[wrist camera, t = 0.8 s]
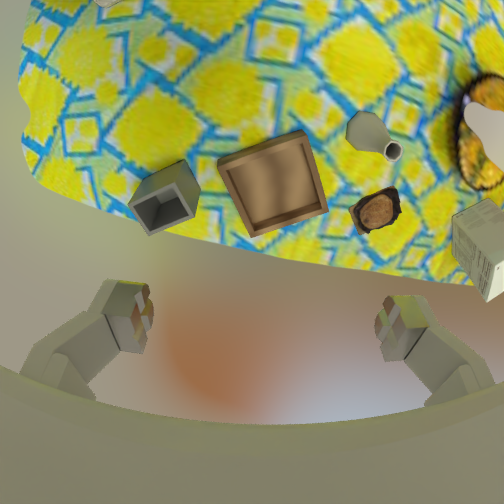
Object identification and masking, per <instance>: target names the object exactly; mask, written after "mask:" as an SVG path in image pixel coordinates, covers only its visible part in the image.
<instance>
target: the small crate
mask: <svg viewBox="0 0 504 504" xmlns="http://www.w3.org/2000/svg"><path fill="white" fill-rule="evenodd" d="M200 191H201V189H200V187H199V185H198V183H197V181H196V179H195V177H194V175H193V173H192V172H191V170H190V168H189V166H188V164H187V162H186V160H185V159H184V160H182V161H179V162H177V163H175V164H173V165H171V166H169V167H166V168H164V169H162V170H160V171H158V172H156V173H154V174H152V175H150V176H148V177H146V178H144V179H143V181H142V182H141V184H140V185H139V187H138V188H137V190H136V192H135V193H134V195H133V196H132V198H131V200H130V201H129V203H128V206H129V208H130V209H131V211H132V212H133V214H134V215H135V217H136V218H137V220H138V221H139V223H140V224H141V226H142V227H143V229H144V230H145V232H146V233H147V234H148V236H150V235H152V234H154V233H157V232H159V231H162V230H164V229H167V228H169V227H172V226H174V225H177V224H179V223H182V222H184V221H186V220H189V219H192V218H194V217H195V214H196V209H197V204H198V200H199V195H200Z"/></svg>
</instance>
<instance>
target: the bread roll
mask: <svg viewBox="0 0 504 504" xmlns="http://www.w3.org/2000/svg"><path fill="white" fill-rule="evenodd" d="M349 212H350V214H351V217H352V219H353V222H354V224H355V226H356V229H357V231H358V234H359V235H362V234H364V233H368V234H369V233H370V231H371V230H373V229H380V228H383V227H384V226H387V225H392V224H393V223H394V221H395V220H397V218H398V215H399V214H400V213H402V211H401V208H400V199H399V195H398V191H397V189H395V187H394V186H390V187H387V188H385V189H382V190H380V191H378V192H376V193H374V194H371V195H370V196H367V197H365V198H363V199H361V200H360V201H359V202H357V203H356V204H354V205H353V206H351V207H350V208H349Z"/></svg>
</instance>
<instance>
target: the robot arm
mask: <svg viewBox="0 0 504 504" xmlns="http://www.w3.org/2000/svg"><path fill="white" fill-rule="evenodd" d="M93 1H94V2H96V3H97V4H98V5H99V6H101V7H103V8H107V7H110V6H112V5H114V4H116V3H118V2H120V1H121V0H93ZM149 294H150V290H149V286H148V284H146V283H138V282H131V281H123V280H113V279H106V280H105V281H104V282H103V283H102V285H101V287H100V289H99V291H98V292H97V294H96V296H95V298H94V300H93V301H92V303H91V305H90V307H89V309H88V311H87V312H86V311H83V312H81V313H80V314H78V315H77V316H75V317H74V318H72V319H71V320H69V321H68V322H66V323H65V324H63V325H62V326H60V327H59V328H57V329H56V330H54V331H53V332H51V333H50V334H48V335H47V336H45V337H44V338H43V339H41V340H40V341H38V342H37V343H35V344H34V345H33V347H32V349H31V351H30V353H29V355H28V357H27V359H26V361H25V363H24V365H23V367H22V369H21V371H20V373H19V374H18V373H16V372H14V371H11V370H9V369H7V368H5V367H3V366H1V365H0V504H504V382H501V383H499V384H495V382H494V380H493V377H492V375H491V373H490V371H489V368H488V366H487V364H486V362H485V360H484V359H483V358H482V357H481V356H480V355H478V354H477V353H476V352H475V351H474V350H472V349H471V348H470V347H469V346H468V345H466V344H465V343H464V342H463V341H461V340H460V339H459V338H458V337H456V336H455V335H454V334H453V333H451V332H450V331H449V330H448V329H446V328H445V327H444V326H442V327H441V326H440V324H439V322H438V321H437V319H436V317H435V315H434V313H433V311H432V309H431V308H430V306H429V304H428V302H427V300H426V299H425V297H424V296H422V295H411V296H387V297H386V298H385V300H384V302H383V307H384V309H382V310H381V311H380V312H379V313H378V314H377V317H376V319H375V325H374V327H375V334H376V336H377V338H378V339H379V340H380V341H381V342H382V344H381V346H380V348H381V351H382V354H383V357H384V360H385V362H388V361H401V360H404V362H405V363H406V364H407V366H408V367H409V368H410V369H411V370H412V371H413V372H414V373H415V374H416V375H417V377H418V378H419V379H420V380H421V381H422V382H423V383H424V385H425V386H426V387H427V388H428V389H429V390H430V391H431V392H432V395H431V396H430V397H429V398H428V399H427V400H426V401H425V403H424V406H425V407H423V408H418V409H414V410H410V411H405V412H400V413H395V414H389V415H384V416H378V417H371V418H364V419H357V420H348V421H338V422H327V423H312V424H287V425H259V424H258V425H257V424H233V423H219V422H207V421H198V420H189V419H182V418H174V417H167V416H161V415H155V414H150V413H144V412H140V411H135V410H130V409H126V408H121V407H117V406H113V405H109V404H105V403H101V402H98V401H96V396H95V394H94V393H93V392H92V390H91V389H90V388H89V386H88V385H87V384H88V383H89V382H90V380H92V379H93V378H94V377H95V376H96V375H97V374H98V373H99V372H100V371H101V370H102V369H103V368H104V367H105V366H106V365H107V364H108V363H109V362H110V361H112V360H113V359H114V358H115V357H116V356H117V355H118V354H119V353H120V351H125V352H132V353H139V354H143V352H144V349H145V346H146V342H147V339H148V338H147V335H146V332H147V331H148V330H150V329H151V326H152V323H153V316H154V307H153V303H152V301H151V300H150V299H149V298H148V297H149Z"/></svg>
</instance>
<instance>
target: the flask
mask: <svg viewBox="0 0 504 504" xmlns="http://www.w3.org/2000/svg"><path fill="white" fill-rule="evenodd" d="M346 140H347V141H348V142H349V143H350V144H351V145H352V146H353V147H354V148H355V149H356V150H361V151H371V152H379V153H381V154H383V156H384V157H385V158H386V159H387V160H388V161H392V162H397V160H398V159H399V158H400V157H401V156H402V153H403V146H402V145H401V144H400V143H399V142H398V141H394V140H392V139H391V138H390V135H389V133H388V131H387V128H386V126H385V124H384V123H383V122H382V121H381V120H380V118H379V117H378V116H377V115H376V114H375V113H370V112H363V111H359V112H358V113H357V114H356V115H355V116H354V117H353V118H352V119H351V120H350V121H349V122H348V127H347V135H346Z"/></svg>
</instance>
